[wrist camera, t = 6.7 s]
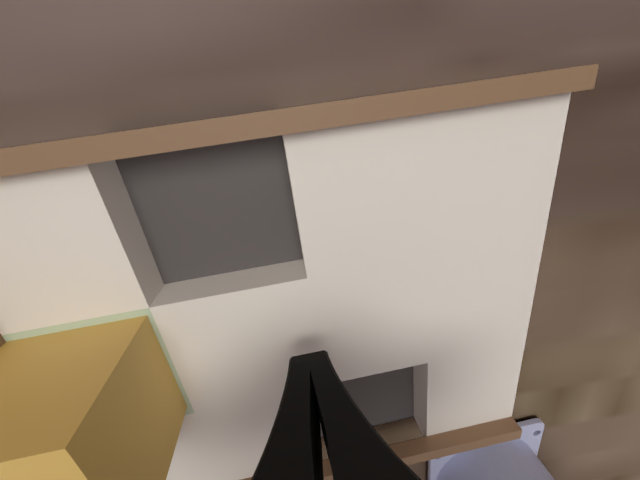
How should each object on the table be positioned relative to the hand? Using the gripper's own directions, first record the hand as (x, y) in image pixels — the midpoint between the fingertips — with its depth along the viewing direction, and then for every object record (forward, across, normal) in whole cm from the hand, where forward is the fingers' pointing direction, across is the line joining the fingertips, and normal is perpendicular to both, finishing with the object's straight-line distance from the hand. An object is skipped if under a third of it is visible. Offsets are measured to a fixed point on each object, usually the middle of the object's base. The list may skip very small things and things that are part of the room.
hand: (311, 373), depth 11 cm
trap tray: (+4, +1, 0) cm, 4 cm away
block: (+2, +8, 0) cm, 8 cm away
